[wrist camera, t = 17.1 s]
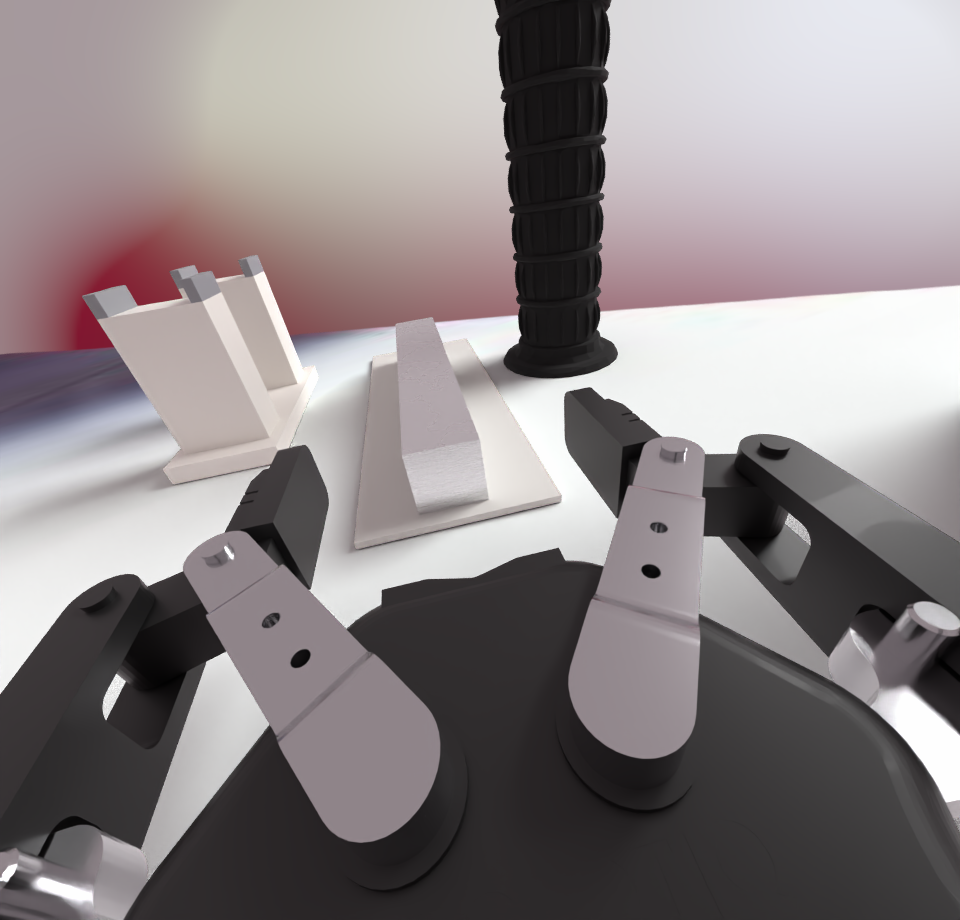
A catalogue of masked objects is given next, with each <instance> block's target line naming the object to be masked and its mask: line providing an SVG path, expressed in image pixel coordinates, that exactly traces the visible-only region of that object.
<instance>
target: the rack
mask: <svg viewBox="0 0 960 920" xmlns="http://www.w3.org/2000/svg"><path fill="white" fill-rule="evenodd" d="M238 261H239V263H240V266H241V268H242V271H243V273H244V275H238V276H232V277H226V278H220V279H215V277H214V275H213V273H212V271H208V272H202V273H199V274H198V272H197V270H196V268H195V265H193V266H187V267H183V268H180V269H176V270H173V271H170V274H171V276H172V278H173V279H174V281H175V283H176V285H177V287H178V289H179V291H180V293H181V295H182V297H183V299H178V300H173V301H166V302H161V303H155V304H149V305H143V306H137V304H136V303H135V301H134V299H133V297H132V296H131V294H130V292H129V290H128V289H127V287H126V286H125V285H124V286H117V287H113V288H109V289H106V290H102V291H99V292H95V293H92V294H88V295H84V296H82V297H83V299H84V300H85V302H86V303H87V305H88V306H89V308H90V309H91V311H92V313H93V314H94V316H95V317H96V319H97V320H98V321H99V323H100V325H101V326H102V328H103V329H104V331H105V332H106V334H107V336H108V337H109V339H110V340H111V342H112V343H113V345H114V346H115V348H116V349H117V351H118V353H119V354H120V356H121V357H122V359H123V360H124V362H125V363H126V365H127V366H128V368H129V369H130V371H131V373H132V374H133V376H134V377H135V379H136V380H137V382H138V383H139V385H140V386H141V388H142V389H143V391H144V393H145V394H146V396H147V397H148V399H149V400H150V402H151V403H152V405H153V406H154V408H155V409H156V411H157V413H158V414H159V416H160V417H161V419H162V420H163V422H164V423H165V425H166V426H167V428H168V429H169V431H170V433H171V434H172V436H173V437H174V439H175V440H176V442H177V443H178V445H179V446H180V448H181V449H180V450H179V451H178V452H177V454H176V455H175V456H174V457H173V458H172V459H171V461H170V462H169V463H168V464H167V465H166V466H165V467H164V469H163V471H164V473H165V474H166V475H167V477H168V478H169V480H170V481H171V482H172V484H173V485H175V484H179V483H184V482H189V481H193V480H198V479H203V478H208V477H212V476H217V475H222V474H227V473H231V472H236V471H241V470H246V469H250V468H255V467H260V466H265V465H269V464H271V463H272V461H273V459H274V457H275V455H276V453H277V451H278V450H282V449H287V448H289V447H290V444H291V442H292V440H293V437H294V435H295V432H296V430H297V428H298V425H299V423H300V420H301V418H302V416H303V413H304V411H305V408H306V406H307V404H308V401H309V399H310V396H311V394H312V392H313V389H314V387H315V384H316V382H317V380H318V374H317V371H316V369H315V366H309V367H303V368H302V366H301V364H300V361H299V359H298V356H297V354H296V351H295V349H294V346H293V344H292V341H291V339H290V336H289V333H288V331H287V328H286V326H285V324H284V321H283V319H282V316H281V313H280V311H279V309H278V306H277V303H276V301H275V298H274V296H273V293H272V291H271V288H270V286H269V283H268V281H267V278H266V276H265V273H264V271H263V268H262V265H261V263H260V260H259V258H258V256H257V255H254V256H249V257H246V258H243V259H240V260H238Z"/></svg>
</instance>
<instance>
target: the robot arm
mask: <svg viewBox="0 0 960 920" xmlns="http://www.w3.org/2000/svg"><path fill="white" fill-rule="evenodd" d="M564 418H565V442H566V446H567V449H568V451H569V453H570V455H571V456H572V458H573V459H574V460H575V462H576V463H577V465H578V466H579V467H580V469H581V470H582V471H583V473H584V474H585V476H586V477H587V478H588V480H589V481H590V482H591V484H592V485H593V486H594V488H595V489H596V491H597V492H598V493H599V495H600V496H601V497H602V499H603V500H604V502H605V503H606V504H607V506H608V507H609V508H610V510H611V511H612V512H613V514H614V515H615V517H616V518H618V521H617V525H616V528H615V531H614V535H613V538H612V541H611V545H610V548H609V551H608V555H607V558H606V562H605V565H604V567H603V566H600V565H597V564H593V563H588V562H582V561H565V560H564V558H563V556H562V554H561V551H560V549H559V548H556V549H552V550H548V551H543V552H539V553H535V554H531V555H527V556H522V557H518V558H515V559H513V560H511V561H509V562H507V563H505V564H503V565H501V566H498V567H496V568H494V569H492V570H490V571H488V572H486V573H484V574H482V575H479V576H477V577H474V578H458V579H426V580H422V581H418V582H413V583H409V584H405V585H401V586H397V587H392V588H388V589H384V590H382V604H381V605H380V606H378V607H376V608H375V609H373V610H371V611H369V612H368V613H366V614H365V615H363V616H362V617H360V618H359V619H358V620H356V621H355V622H354V623H353V624H352V625H351V626H349V627H348V628H347V629H345V627H344V626H343V625H342V624H341V623H340V622H339V621H338V620H337V619H336V618H335V617H334V616H333V615H332V614H331V613H330V612H329V611H328V610H327V609H326V608H325V607H324V606H323V605H322V604H321V603H320V602H319V600H318V599H317V598H316V597H315V596H314V595H313V594H312V593H311V592H310V591H309V590H310V589H311V585H312V581H313V576H314V571H315V567H316V562H317V557H318V553H319V548H320V543H321V539H322V534H323V529H324V525H325V520H326V515H327V511H328V506H329V500H328V493H327V489H326V487H325V484H324V482H323V480H322V477H321V475H320V473H319V470H318V468H317V466H316V463H315V461H314V459H313V457H312V454H311V452H310V450H309V449H308V447H307V446H306V445H302V446H297V447H292V448H287V449H282V450H278V451H277V453H276V455H275V457H274V459H273V461H272V463H271V466H270V468H269V469H265V470H263V471H262V472H261V473H260V474H259V475H258V476H256V477H255V478H254V479H253V480H252V481H251V483H250V484H249V486H248V488H247V490H246V492H245V495H244V496H243V498H242V500H241V502H240V505H239V506H238V508H237V510H236V511H235V513H234V515H233V517H232V519H231V521H230V523H229V525H228V527H227V529H226V531H225V533H223V534H220V535H217V536H215V537H213V538H211V539H209V540H207V541H206V542H204V543H202V544H201V545H200V546H198V547H197V548H196V549H195V550H194V551H193V552H192V553H191V554H190V555H189V556H188V557H187V559H186V560H185V562H184V565H183V572H181V573H178V574H176V575H174V576H171V577H169V578H166V579H164V580H162V581H159V582H157V583H155V584H152V585H150V586H148V587H147V586H146V585H145V584H144V582H143V581H142V580H141V579H140V578H139V577H138V576H136V575H133V574H124V575H119V576H115V577H112V578H109V579H107V580H104V581H102V582H100V583H98V584H96V585H95V586H93V587H91V588H90V589H88V590H86V591H85V592H83V593H82V594H81V595H79V596H78V597H77V598H76V599H74V600H73V601H72V602H71V603H70V604H69V605H68V606H67V607H66V608H65V610H64V611H63V612H62V613H61V615H60V616H59V617H58V619H57V620H56V621H55V623H54V624H53V625H52V627H51V628H50V629H49V631H48V632H47V633H46V635H45V636H44V637H43V639H42V640H41V641H40V643H39V644H38V645H37V647H36V648H35V649H34V650H33V652H32V653H31V654H30V656H29V657H28V658H27V660H26V661H25V662H24V664H23V665H22V666H21V668H20V669H19V670H18V672H17V673H16V674H15V676H14V677H13V678H12V680H11V681H10V682H9V684H8V685H7V686H6V688H5V689H4V690H3V691H2V693H1V694H0V920H960V832H959V830H958V828H957V826H956V824H955V821H954V819H957V818H960V543H959V542H958V541H956V540H955V539H953V538H951V537H950V536H948V535H947V534H945V533H943V532H942V531H940V530H939V529H937V528H935V527H934V526H932V525H931V524H929V523H927V522H926V521H924V520H923V519H921V518H919V517H918V516H916V515H915V514H913V513H911V512H910V511H908V510H907V509H905V508H903V507H902V506H900V505H899V504H897V503H895V502H894V501H892V500H891V499H889V498H887V497H886V496H884V495H883V494H881V493H879V492H878V491H876V490H875V489H873V488H871V487H870V486H868V485H867V484H865V483H863V482H862V481H860V480H859V479H857V478H855V477H854V476H852V475H851V474H849V473H847V472H846V471H844V470H843V469H841V468H839V467H838V466H836V465H835V464H833V463H831V462H830V461H828V460H827V459H825V458H823V457H822V456H820V455H819V454H817V453H815V452H814V451H812V450H811V449H809V448H807V447H806V446H804V445H803V444H801V443H799V442H797V441H795V440H792V439H789V438H786V437H782V436H777V435H770V434H758V435H751V436H748V437H745V438H744V439H742V440H741V441H740V444H739V447H738V451H737V454H705V452H704V450H703V449H702V448H701V447H700V446H699V445H698V444H696V443H694V442H692V441H689V440H686V439H683V438H677V437H662V436H660V435H659V434H658V433H657V432H656V431H655V430H653V429H652V428H651V427H650V426H649V425H647V424H646V423H645V422H644V421H643V420H640V418H639V417H638V416H637V415H635V414H633V413H632V411H631V410H629V409H628V408H627V407H626V406H625V405H623V404H621V403H619V402H616V401H613V400H611V399H605V400H604V399H603V398H602V397H601V396H600V395H599V394H598V393H597V392H595V391H594V390H593V389H592V388H590V387H588V388H583V389H579V390H574V391H569V392H566V394H565V397H564ZM788 513H790V514H791V515H792V516H793V517H795V518H796V519H797V520H798V521H799V522H801V523H802V524H803V525H804V526H805V528H806V529H807V531H808V533H809V535H810V539H811V546H810V545H809V544H807V543H806V542H805V541H804V540H803V539H802V538H801V537H799V536H798V535H797V534H796V533H795V532H794V531H793V530H791V529H790V528H789V527H788V526H787V525H786V524H785V521H786V518H787V516H788ZM703 536H716V537H720V538H721V539H722V540H723V541H724V542H725V543H726V545H727V546H728V547H729V548H730V549H731V550H732V551H733V552H734V553H735V554H736V556H737V557H738V558H739V559H740V560H741V561H742V562H743V563H744V564H745V566H746V567H747V568H748V569H749V570H750V571H751V572H752V573H753V574H754V576H755V577H756V578H757V579H758V580H759V581H760V582H761V583H762V584H763V585H764V587H765V588H766V589H767V590H768V591H769V592H770V593H771V594H772V595H773V597H774V598H775V599H776V600H777V601H778V602H779V603H780V604H781V605H782V607H783V608H784V609H785V610H786V611H787V612H788V613H789V614H790V615H791V616H792V618H793V619H794V620H795V621H796V622H797V623H798V624H799V625H800V626H801V628H802V629H803V630H804V631H805V632H806V633H807V634H808V635H809V636H810V638H811V639H812V640H813V641H814V642H815V643H816V644H817V645H818V646H819V647H820V649H821V650H822V651H823V652H824V653H825V654H826V655H827V656H828V657H829V660H828V668H829V672H830V675H831V677H832V679H833V681H834V682H835V683H834V682H832V681H830V680H829V679H827V678H825V677H823V676H821V675H819V674H817V673H815V672H813V671H811V670H809V669H807V668H805V667H803V666H801V665H799V664H797V663H795V662H793V661H791V660H789V659H787V658H785V657H784V656H782V655H780V654H778V653H776V652H774V651H772V650H770V649H768V648H766V647H764V646H762V645H760V644H758V643H756V642H754V641H752V640H750V639H748V638H746V637H744V636H742V635H740V634H738V633H736V632H734V631H732V630H730V629H728V628H726V627H725V626H723V625H721V624H719V623H717V622H715V621H713V620H711V619H709V618H707V617H705V616H703V615H701V614H699V600H700V584H701V567H702V550H703ZM226 651H227V653H228V655H229V656H230V658H231V660H232V661H233V663H234V665H235V667H236V668H237V670H238V672H239V673H240V675H241V677H242V678H243V680H244V682H245V683H246V685H247V687H248V688H249V690H250V692H251V694H252V695H253V697H254V699H255V700H256V702H257V704H258V705H259V707H260V709H261V710H262V712H263V714H264V716H265V717H266V719H267V721H268V722H269V724H270V725H269V726H268V727H267V729H266V730H265V731H264V733H263V734H262V735H261V736H260V738H259V739H258V740H257V741H256V743H255V744H254V745H253V747H252V748H251V749H250V750H249V752H248V753H247V754H246V756H245V757H244V758H243V759H242V761H241V762H240V763H239V764H238V766H237V767H236V768H235V770H234V771H233V772H232V773H231V775H230V776H229V777H228V779H227V780H226V781H225V782H224V784H223V785H222V786H221V787H220V789H219V790H218V791H217V793H216V794H215V795H214V796H213V798H212V799H211V800H210V802H209V803H208V804H207V805H206V807H205V808H204V809H203V810H202V812H201V813H200V814H199V816H198V817H197V818H196V819H195V821H194V822H193V823H192V824H191V826H190V827H189V828H188V830H187V831H186V832H185V833H184V835H183V836H182V837H181V839H180V840H179V841H178V842H177V844H176V845H175V846H174V847H173V849H172V850H171V851H170V853H169V854H168V855H167V856H166V858H165V859H164V860H163V862H162V863H161V864H160V865H159V867H158V868H157V869H156V871H155V872H154V873H153V875H152V876H151V877H150V879H149V880H148V882H147V877H148V863H147V859H146V856H145V854H144V853H143V852H142V850H141V847H142V845H143V842H144V839H145V836H146V833H147V830H148V827H149V825H150V822H151V819H152V816H153V813H154V810H155V807H156V805H157V802H158V799H159V796H160V793H161V790H162V787H163V785H164V782H165V779H166V776H167V773H168V770H169V767H170V765H171V762H172V759H173V756H174V753H175V750H176V747H177V745H178V742H179V739H180V736H181V733H182V730H183V727H184V725H185V722H186V719H187V716H188V713H189V710H190V707H191V705H192V702H193V699H194V696H195V693H196V690H197V687H198V685H199V682H200V679H201V676H202V673H203V670H204V667H205V665H206V661H208V660H210V659H212V658H214V657H216V656H218V655H220V654H222V653H224V652H226ZM116 673H117V674H118V675H119V676H120V677H121V678H123V679H124V680H125V681H126V683H125V685H124V687H123V688H122V690H121V692H120V694H119V696H118V698H117V700H116V702H115V704H114V706H113V708H112V710H111V712H110V714H109V716H108V718H107V720H105V718H104V716H103V710H102V705H103V699H104V696H105V694H106V692H107V690H108V688H109V686H110V684H111V682H112V680H113V679H114V677H115V675H116Z"/></svg>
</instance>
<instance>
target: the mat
mask: <svg viewBox="0 0 960 920" xmlns="http://www.w3.org/2000/svg"><path fill="white" fill-rule="evenodd" d="M443 346H444V349H445V351H446V354H447V356H448V359H449V361H450V364H451V367H452V369H453V372H454V374H455V377H456V379H457V382H458V384H459V387H460V390H461V392H462V395H463V397H464V400H465V402H466V405H467V408H468V410H469V413H470V415H471V418H472V420H473V423H474V425H475V428H476V431H477V433H478V436H479V438H480V444H481V450H482V457H483V463H484V470H485V476H486V483H487V489H488V496H489V500H485V501H481V502H476V503H472V504H467V505H463V506H459V507H454V508H450V509H445V510H441V511H437V512H432V513H428V514H423V515H419V513H418V510H417V507H416V503H415V500H414V496H413V493H412V489H411V486H410V482H409V479H408V475H407V472H406V468H405V465H404V461H403V458H402V449H401V427H400V406H399V385H398V364H397V352H393V353H388V354H383V355H378V356H373V362H372V372H371V382H370V391H369V401H368V411H367V420H366V430H365V439H364V449H363V459H362V468H361V478H360V488H359V497H358V507H357V517H356V526H355V536H354V545H355V548H356V550H357V549H361V548H365V547H369V546H374V545H378V544H382V543H387V542H391V541H395V540H399V539H404V538H408V537H412V536H416V535H421V534H425V533H429V532H434V531H438V530H442V529H446V528H451V527H455V526H459V525H463V524H468V523H472V522H476V521H481V520H485V519H489V518H493V517H498V516H502V515H506V514H510V513H515V512H519V511H523V510H527V509H532V508H536V507H540V506H545V505H549V504H553V503H557V502H561V494H560V492H559V490H558V489H557V487H556V486H555V484H554V482H553V481H552V479H551V477H550V476H549V474H548V472H547V471H546V469H545V467H544V466H543V464H542V462H541V461H540V459H539V457H538V456H537V454H536V453H535V451H534V449H533V448H532V446H531V444H530V443H529V441H528V439H527V438H526V436H525V434H524V433H523V431H522V429H521V428H520V426H519V424H518V423H517V421H516V419H515V418H514V416H513V415H512V413H511V411H510V410H509V408H508V406H507V405H506V403H505V401H504V400H503V398H502V396H501V395H500V393H499V391H498V390H497V388H496V386H495V385H494V383H493V381H492V380H491V378H490V377H489V375H488V373H487V372H486V370H485V368H484V367H483V365H482V363H481V362H480V360H479V358H478V357H477V355H476V353H475V352H474V350H473V348H472V347H471V345H470V343H469V342H468V340H467V339H461V340H456V341H451V342H445V343H443Z"/></svg>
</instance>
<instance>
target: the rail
mask: <svg viewBox="0 0 960 920" xmlns="http://www.w3.org/2000/svg"><path fill="white" fill-rule="evenodd" d="M396 343H397V364H398V385H399V406H400V427H401V449H402V458H403V461H404V465H405V468H406V472H407V475H408V479H409V482H410V486H411V489H412V493H413V496H414V500H415V503H416V507H417V510H418V513H419V515H423V514H428V513H432V512H437V511H441V510H445V509H450V508H454V507H459V506H463V505H467V504H472V503H476V502H481V501H485V500H489V496H488V489H487V483H486V476H485V470H484V463H483V457H482V450H481V444H480V438H479V436H478V433H477V431H476V428H475V425H474V423H473V420H472V418H471V415H470V413H469V410H468V408H467V405H466V402H465V400H464V397H463V395H462V392H461V390H460V387H459V384H458V382H457V379H456V377H455V374H454V372H453V369H452V367H451V364H450V361H449V359H448V356H447V354H446V351H445V349H444V346H443V343H442V341H441V338H440V336H439V333H438V331H437V328H436V325H435V323H434V321H433V318H432V317H430V318H425V319H420V320H414V321H409V322H404V323H398V324H396Z"/></svg>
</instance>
